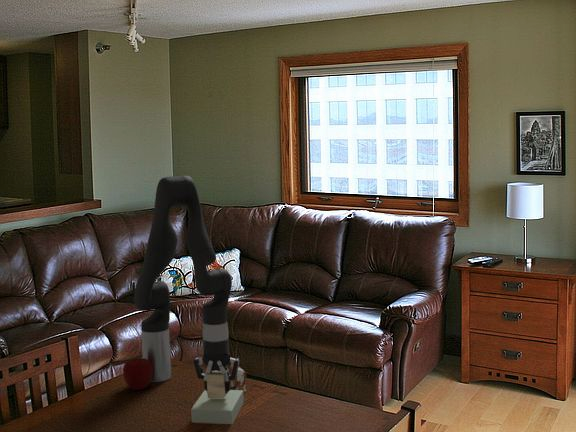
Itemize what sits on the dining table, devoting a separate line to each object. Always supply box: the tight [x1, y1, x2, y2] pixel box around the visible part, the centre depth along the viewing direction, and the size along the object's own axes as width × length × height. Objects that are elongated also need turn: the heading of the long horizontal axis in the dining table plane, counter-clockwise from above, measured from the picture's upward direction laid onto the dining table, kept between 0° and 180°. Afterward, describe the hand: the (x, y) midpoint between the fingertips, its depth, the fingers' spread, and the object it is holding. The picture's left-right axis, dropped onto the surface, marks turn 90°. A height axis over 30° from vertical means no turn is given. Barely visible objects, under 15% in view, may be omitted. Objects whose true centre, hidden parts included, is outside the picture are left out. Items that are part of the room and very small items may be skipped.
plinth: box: [190, 389, 245, 425], centre depth 220 cm, size 16×12×4 cm
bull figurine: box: [228, 364, 248, 393], centre depth 238 cm, size 4×13×8 cm, turn 15°
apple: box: [122, 357, 153, 391], centre depth 240 cm, size 10×10×10 cm
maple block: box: [207, 370, 227, 399], centre depth 219 cm, size 5×5×7 cm
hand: (217, 391), depth 219 cm, fingers closed on maple block, 5 cm apart
